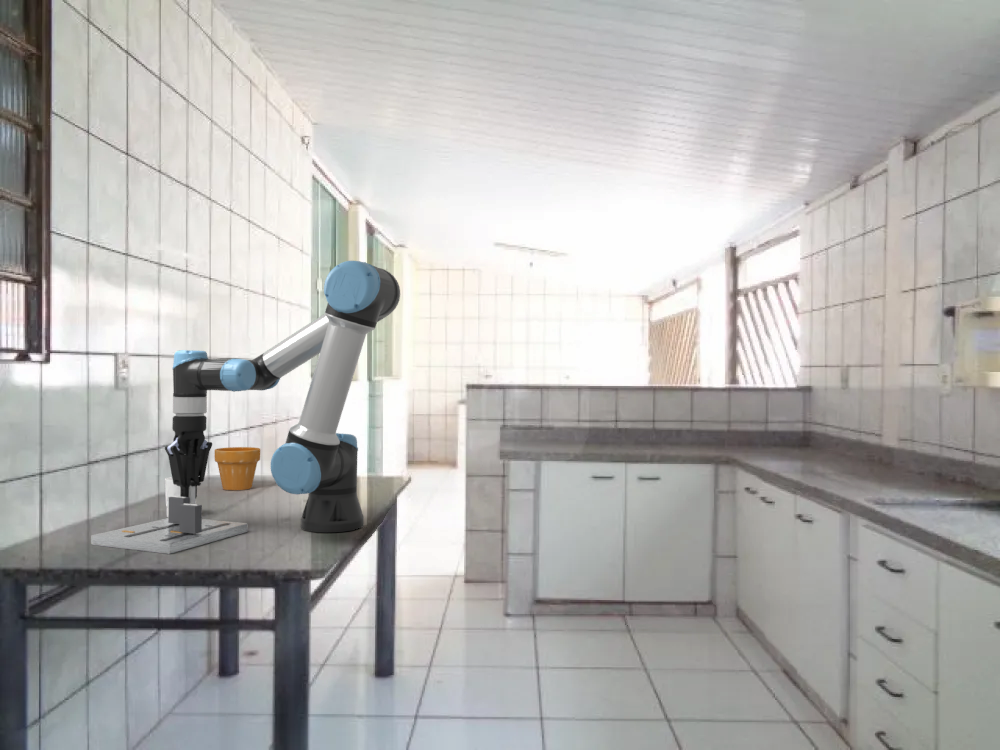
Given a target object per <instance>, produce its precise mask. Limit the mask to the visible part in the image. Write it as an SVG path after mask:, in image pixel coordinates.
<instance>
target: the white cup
mask: <svg viewBox="0 0 1000 750" xmlns="http://www.w3.org/2000/svg"><path fill="white" fill-rule="evenodd" d="M180 490H181V488H180V486H177V485H174V484H173V479H172V476H170V477H165V478H164V491H165V492H164V493H165V495H164V496H165V497H164V498H165V506H166V518H168V516H169V497H172V496H180ZM195 504H196V505H197V498H196V499H195Z"/></svg>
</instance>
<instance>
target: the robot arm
mask: <svg viewBox="0 0 1000 750" xmlns="http://www.w3.org/2000/svg"><path fill="white" fill-rule="evenodd" d="M323 285H324V286H323V293H324V294H323V295H324V296H325V299H326V302H327V305H326V308H325V312H324V314H321V315H320V316H319V317H317V318H316V319H314V320H313V321H311V322H309V323H308V324H306V325H305V326H303V327H301V328H300V329H298V330H297V331H296V332H294V333H292V334H291V335H289V336H287V337H286V338H284V339H283V340H281V341H280V342H278V343H277V344H275V345H273V346H272V347H271V348H269V349H267V350H266V351H264V352H263V353H261V354H260V355H258V356H256V357H255V358H253V359H243V358H209V357H208V353H207V351H205V350H194V349H193V350H187V349H182V350H177V351H175V353H174V355H173V363H172V382H173V383H172V384H173V385H172V387H173V393H172V413H173V414H175V415H173V417H172V427H171V428H172V429H171V430H172V431H173V432H174V437H173V439H172V440H173V441H172V443H171V444H170V445H165V446H164V450H165V452H166V454H167V457H168V463H169V466H170V467H169V468H170V473H171V477H172V479H173V484H174V485H177V486H180V488H181V490H180V497H190V504H195V499H196V500H197V497H198V495H197V494H198V487H199V486H201V485H202V483H203V482H204V481H205V477H206V471H207V465H208V462H209V461H208V460H209V456H210V455H209V454H210V451H211V449H212V446H213V443H212V441H207V440H206V436H205V433H204V432H205V431H206V430H207V420H208V419H207V418H208V417H207V416H206V415H205V414H206V413H207V412H208V411H207V410H208V407H207V405H208V404H207V403H208V401H207V398H208V397H207V395H208V391H221V392H222V391H223V392H224V391H226V392H242V391H243V392H247V391H267V390H270V389H273V388H275V387H276V386H278V384H279V382H280V380H281V378H282V377H283V378H284V376H286V375H287V374H289V373H291V372H293V371H295V370H296V369H297V368H299V367H300V366H302V365H303V364H305V363H306V362H308V361H310V360H311V359H312V358H315V357H317V356H318V358H317V361H316V365H315V369H314V371H313V376H312V377H311V382H310V383H309V388H308V391H307V395H306V398H305V401H304V404H303V407H302V411H301V414H300V417H299V421H298V423H297V424H295V425H293V426H291V427H290V428H289V429H288V434H287V435H286V436H287V437H286V439H285V443H283V444H282V445H280V446H279V447H278V448H277V449H276V450H275V451H274V453H273V454H272V457H271V459H270V473H271V476H272V478H273V479H274V482H275V484H276V485H277V486H278V487H279V488H280V489H281V490H282V491H284V492H286V493H287V494H291V495H305V494H308V497H307V499H306V502H305V505H304V509H303V513H302V515H301V518H300V528H301V530H304V531H307V532H311V533H342V532H344V533H345V532H350V531H355V529H356V530H359V529H361V528H363V527H364V517H365V516H364V514H363V511H362V507H361V504H360V501H359V498H358V494H357V493H358V451H359V447H358V440H357V437H356V436H355V435H354V434H350V433H339V432H338V433H337V430H338V427H339V423H340V420H341V418H342V413H343V411H344V407H345V403H346V401H347V397H348V395H349V391H350V388H351V384H352V381H353V379H354V375H355V372H356V368H357V365H358V362H359V359H360V355H361V353H362V349H363V345H364V343H365V339H366V336H367V335H368V334H369V333H370V332H372V331H374V330H375V329H376V326H377V323H379V322H380V321H382V320H383V319H385V318H387V317H388V316H389V315H391V314H392V313H393V312H394V311H395V309H396V308H397V307H398V305H399V302H400V300H401V288H400V284H399V282H398V280H397V279H396V277H395V276H394V275H393V274H392V273H391V272H389V271H388V270H386V269H383V268H380V267H377V266H374V265H373V264H370V263H368V262H366V261H359V260H346V261H343V262H340V263H338V264H336V265H335V266H334V267H333V268H332V269H330V271H329V272H328V274H327V275H326V278H325V281H324V283H323ZM360 527H361V528H360ZM358 528H359V529H358Z"/></svg>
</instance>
